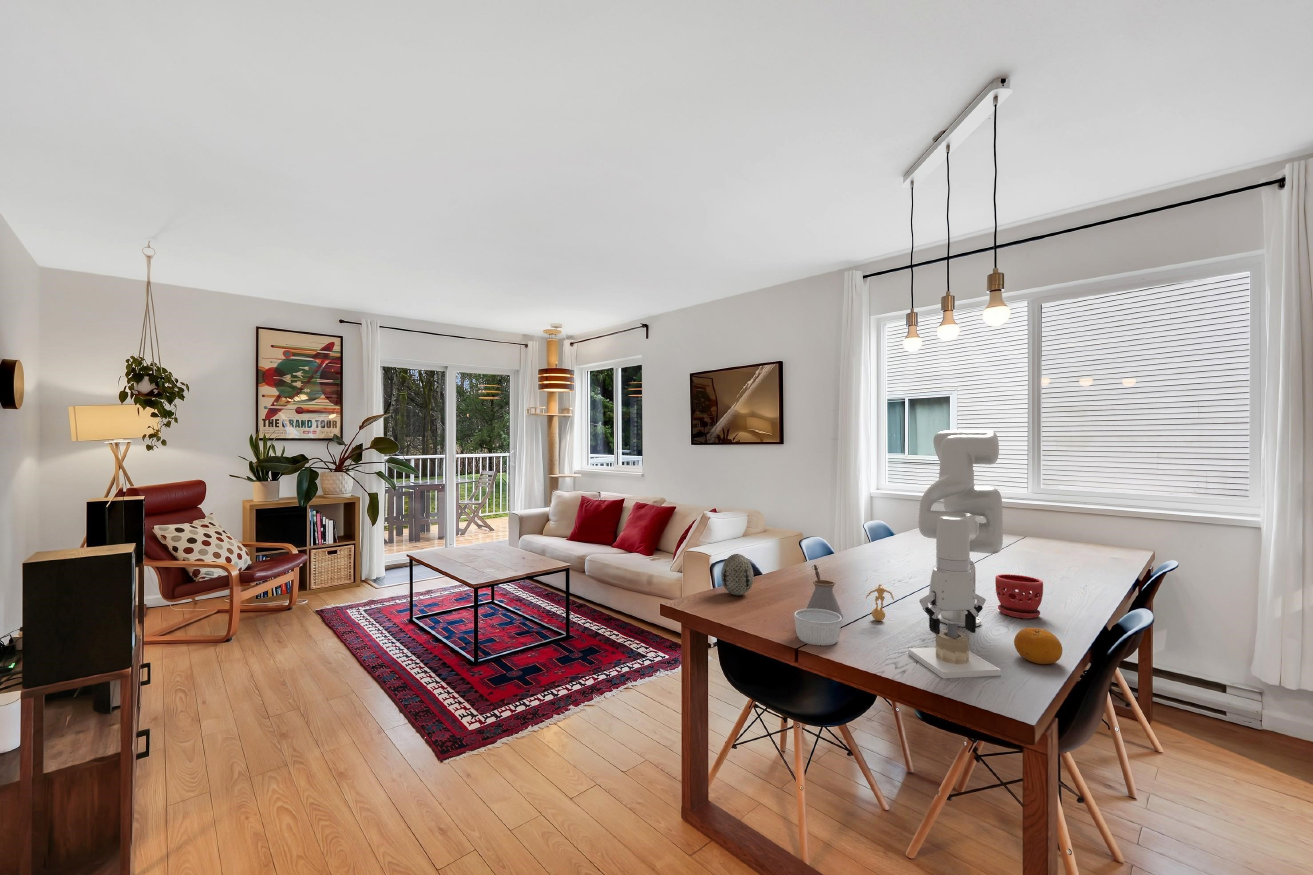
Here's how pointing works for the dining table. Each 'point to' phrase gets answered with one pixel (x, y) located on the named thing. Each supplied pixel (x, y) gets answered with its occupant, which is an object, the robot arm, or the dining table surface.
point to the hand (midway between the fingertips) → (952, 631)
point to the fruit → (1038, 645)
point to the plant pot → (1019, 595)
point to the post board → (949, 670)
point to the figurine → (878, 612)
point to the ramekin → (818, 626)
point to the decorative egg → (737, 574)
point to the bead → (952, 648)
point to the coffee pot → (823, 595)
